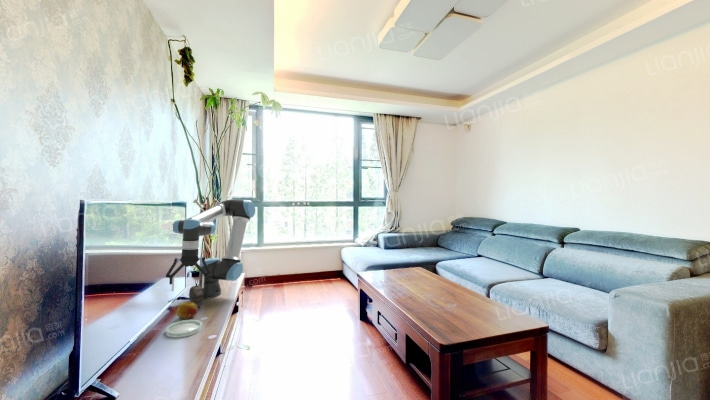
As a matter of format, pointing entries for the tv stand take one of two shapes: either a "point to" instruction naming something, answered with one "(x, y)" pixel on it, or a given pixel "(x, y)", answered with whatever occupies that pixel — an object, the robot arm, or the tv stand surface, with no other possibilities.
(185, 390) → the tv stand surface
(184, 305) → the fruit
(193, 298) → the alarm clock
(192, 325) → the dish
